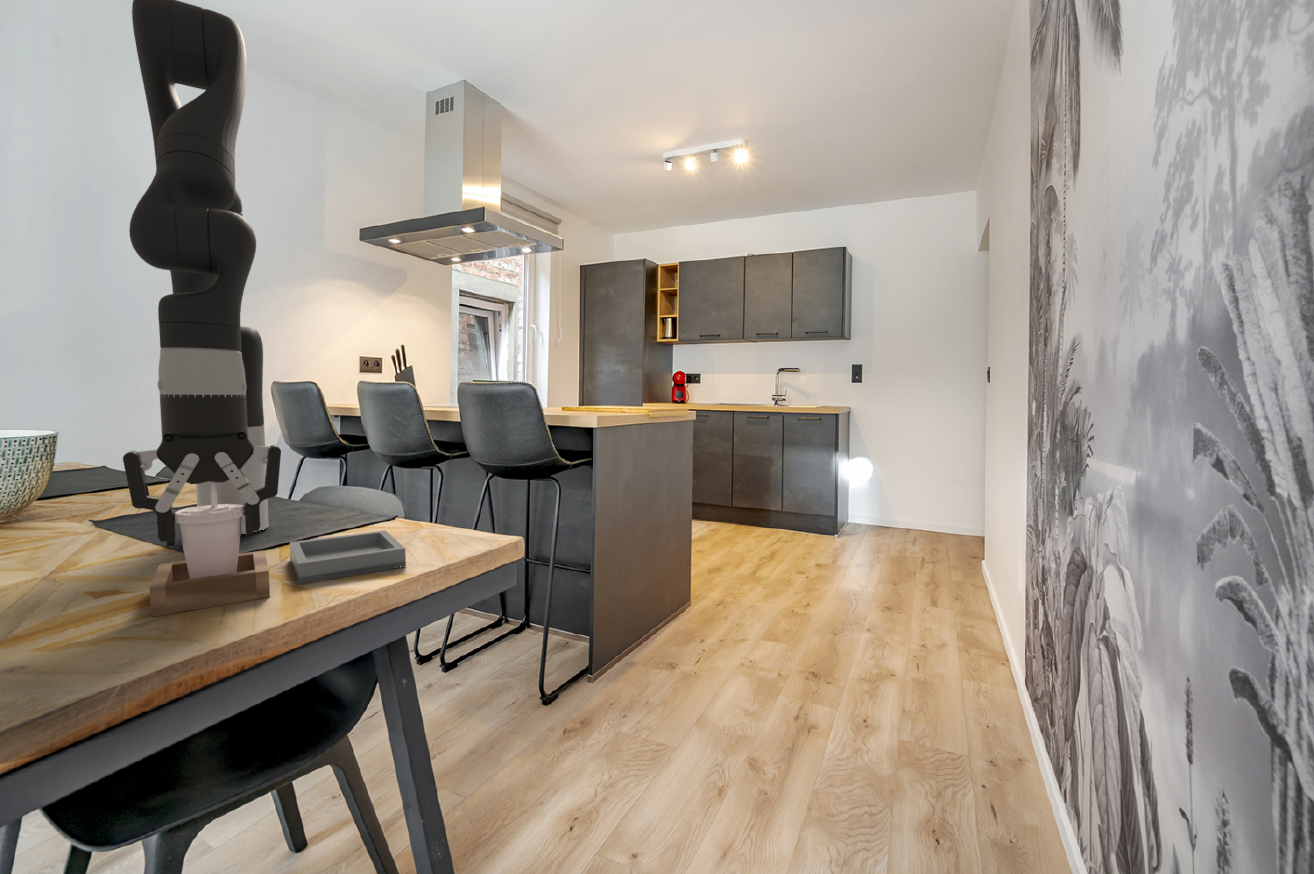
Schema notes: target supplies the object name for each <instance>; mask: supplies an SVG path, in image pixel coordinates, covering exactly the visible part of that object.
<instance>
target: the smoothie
mask: <svg viewBox="0 0 1314 874" xmlns="http://www.w3.org/2000/svg"><path fill="white" fill-rule="evenodd" d="M210 493H211V505H206V506H198V507H197V506H192V507H191V506H190V507H187V508H183V509H179V510H175V513H174V523H176V524H177V527H178V531H179V537H180V540H181V544H182V548H183V550H182V551H183V553H184V558H185V561H186V563H187V568H188V572H189V577H190V579H195V578H202V577H209V576H216V575H223V574H230V573H237V563H238V554H240V553H239V552H240V551H239V550H240V543H241V542H240V541H241V535H240V533H241V522H242V517H243V516H244V515H245V507H244V506H243V505H238V504H217V489H216V482H210Z"/></svg>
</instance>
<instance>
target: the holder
mask: <svg viewBox="0 0 1314 874" xmlns="http://www.w3.org/2000/svg"><path fill="white" fill-rule="evenodd" d="M266 556H267V555H266V551H265V550H257V551H251V552H244V553H238V563H237V573H230V574H223V575H216V576H209V577H202V578H195V579H190V577H189V572H188V568H187V563H186V560H179V561H172V562H165V563H159V564H158V567H157V569H156V572H155V574H154V576H153V579H152V581H151V583H150V586H149V601H150V616H151V617H152V618H153V617H157V616H158V617H159V616H164V615H171V614H177V613H181V612H190V611H195V610H200V609H206V608H211V607H217V606H218V607H219V606H223V605H229V604H235V603H241V602H247V601H254V600H258V599H264V598H270V597H271V592H270V587H271V586H270V571H269V570H270V569H269V566H268V561H267V557H266Z"/></svg>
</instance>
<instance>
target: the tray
mask: <svg viewBox="0 0 1314 874" xmlns="http://www.w3.org/2000/svg"><path fill="white" fill-rule="evenodd" d="M289 556H290V557H289V558H290V559H289V560H291V561H290V563H291V566H292V569H293V571H294V575H295V578H296V580H298V581H297V583H298V585H303V584H308V583H315V581H317V582H321V581H320V580H323V581H328V580H335V579H339V578H340V579H341V578H347V577H352V576H359V575H364V574H363V573H366V574H371V573H377V571H378V572H383V571H382V570H384V571H389V570H388V569H390V570H394V569H393V568H396V567H400V566H401V567H402V566H406V567H407V564H406V562H407V561H406V560H407V559H406V556H407V555H406V547H405V546H404V545H402V544H401V543H400V542H399V541H398V540H397V539H396V538H395V537H393V536H392V535H391V534H390V533H389V532H388V531H387V530H378V531H377V530H376V531H370V532H369V531H368V532H362V533H356V534H355V533H354V534H347V535H337V536H330V537H323V538H315V539H306V540H305V539H304V540H295V541H291V542H289ZM402 568H403V567H402ZM396 569H397V568H396ZM358 574H359V575H358Z"/></svg>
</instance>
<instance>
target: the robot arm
mask: <svg viewBox="0 0 1314 874" xmlns="http://www.w3.org/2000/svg"><path fill="white" fill-rule="evenodd" d="M131 5H132V7H131V18H132V27H133V30H132V31H133V36H134V42H135V47H136V53H137V59H138V63H139V69H140V73H141V79H142V84H143V87H144V88H143V89H144V94H145V99H146V104H147V110H148V114H149V120H150V126H151V132H152V140H153V146H154V156H155V157H154V159H155V166H156V169H155V170H156V171H155V174H154V177H153V179H152V181H151V183H150V185H149V186H148V188H147V190H146V191H145V192H144V194H143V195H142V196H141V198H140V199H139V201H138V203H137V204H136V207H135V208H134V210H133V212H132V215H131V218H130V222H129V230H128V231H129V238H130V244H131V245H132V248H133V250H134V251H135V253H136V254H137V255H138V257H139V258H140V259H141V260H143V262H145V263H146V264H147V265H150V266H151V267H153V268H155V269H159V270H166V271H169V272H170V278H171V279H170V280H171V286H172V289H171V290H172V293H171V294H170V293H169V294H167V295H164V296H163V297H161V298H160V299H159V302H158V306H157V308H158V309H157V314H158V315H157V316H158V328H159V329H158V332H159V347H160V349H159V354H160V355H159V361H158V381H157V388H158V389H157V390H158V392H159V405H160V406H159V408H160V424H161V425H160V427H161V442H160V444H159V446H158V447H157V449H149V450H142V451H137V450H130V451H128V452H125V454H123V456H122V462H123V466H124V472H125V477H126V481H127V486H128V490H129V495H130V501H131V505H132V507H133V508H134V509H138V510H139V509H144V510H149V511H153V512H154V513H155V514H156V522H157V523H156V524H157V526H156V527H157V538H158V540H159V541H160V543H161V542H166V547H174V546H177V542H178V540H177V523H174V513H175V512H176V509H175V508H173V504H174V502H175V501H176V499H177V498H178V496H179V494H180V493H181V491H182V489H183V488H184V486H185V484H186V483H187V484H190V485H195V487H196V488H195V489H196V507H198V506H206V505H211V493H210V482H216V489H217V504H238V505H243V506H244V507H245V515H244V516H243V517H242V522H241V533H240V536H242V535H241V534H245V537H246V538H251V537H254V533H253V532H255V531H259V530H263V531H265V530H267V529H268V528H269V527H268V526H269V507H268V505H269V503H268V499H270V498H274V497H276V496H277V495H278V494H279V493H278V490H279V481H280V470H281V469H280V468H281V456H282V455H281V454H282V450H281V448H280V447H279V446H278V445H277V444H272V445H270V446H266V438H265V435H266V433H265V417H264V416H265V415H264V404H263V403H264V401H263V399H264V398H263V378H264V377H263V373H264V369H263V368H264V348H263V347H264V346H263V345H264V344H263V341H262V337H261V335H260V333H259V331H258V330H257V329H255V328H253V327H249V326H241V312H242V310H241V309H242V302H243V295H244V293H245V292H244V291H245V288H246V284H247V280H248V277H249V274H250V271H251V269H252V266H253V263H254V259H255V255H256V250H257V240H256V239H257V237H256V234H255V231H254V229H253V228H252V226H251V225H250V223H249V222H248V221H247V220H246V219H245V218H244V216H243V205H242V200H241V197H240V194H239V193H238V190H237V188H236V160H235V157H236V143H237V138H238V132H239V127H240V124H241V119H242V114H243V109H244V108H243V107H244V102H245V95H246V90H247V89H246V88H247V82H248V81H247V80H248V78H247V77H248V61H247V50H246V43H245V39H244V36H243V32H242V31H241V29H240V27H239V25H238V23H237V22H236V21H234V20H233V19H232V18H231V17H229V16H227V15H225V14H223V13H220V12H217V11H214V10H211V9H208V8H204V7H202V6H197V5H195V4H190V3H187V2H184V1H181V0H133V1H132V4H131ZM177 84H178V85H182V86H186V87H191V88H195V89H200V90H204V91H203V92H202V93H200V94H199V95H198V96H196V97H195V98H194V99H192V100H190V101H189V102H187V103H186V104H184V105H182V103H181V101H180V98H179V95H178V92H177V89H176V85H177ZM157 459H158V460H159V461H160V462H161V463H162V464H164V466H166V467H167V468H168V469H169V470H170V472H172V473H173V474H174V475H173V477H172V478H171V479H170V481H169V483H168V484H167V486H166V488H165V490H164V491H163V492H162V493H161V496H160V497H158V496H153V495H150V491H149V488H148V487H149V485H148V482H147V477H146V473H145V472H146V471H149V470H151V468H152V467H153V462H154V461H155V460H157ZM267 527H268V528H267ZM266 528H267V529H266ZM264 529H265V530H264ZM259 532H260V531H259Z"/></svg>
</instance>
